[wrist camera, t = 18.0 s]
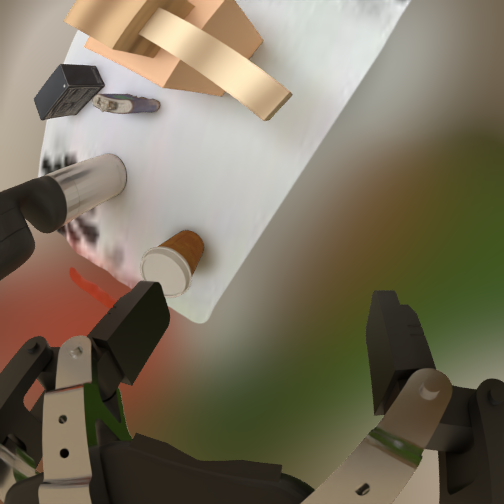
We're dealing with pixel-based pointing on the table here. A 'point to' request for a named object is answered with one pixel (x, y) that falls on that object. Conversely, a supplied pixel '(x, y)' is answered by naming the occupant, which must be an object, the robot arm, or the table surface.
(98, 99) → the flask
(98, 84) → the small box
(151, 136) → the table surface
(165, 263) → the disposable coffee cup
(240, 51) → the pedestal
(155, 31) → the mallet
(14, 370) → the robot arm
